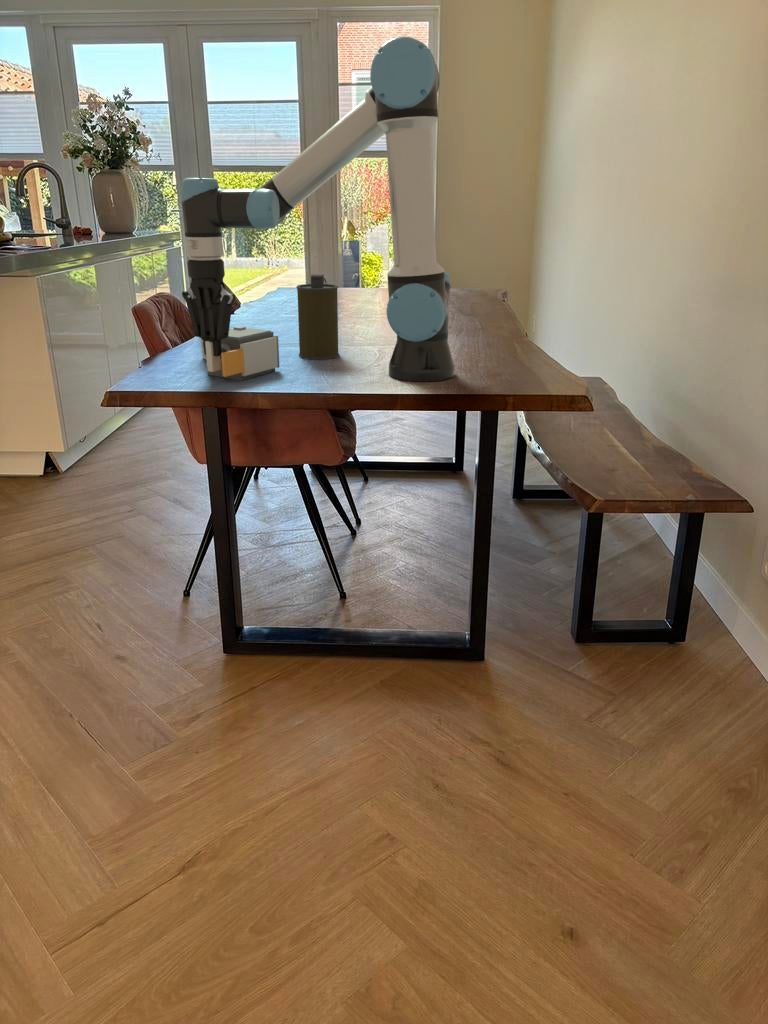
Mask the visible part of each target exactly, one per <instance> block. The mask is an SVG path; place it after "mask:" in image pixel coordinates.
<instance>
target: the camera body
mask: <svg viewBox="0 0 768 1024" xmlns="http://www.w3.org/2000/svg"><path fill="white" fill-rule="evenodd" d="M274 336H275V335H274V331H272V330H269V329H268V330H267V329H260V328H253V327H252V328H251V327H246V326H240V325H238V326H234V327H233V328H229V335H228V338H224V339H222V340H221V349H222V350H221V351H222V353H223V352H228V351H232V350H237V349H240V344H242V343H247V342H251V341H256V340H260V339H265V338H269V337H274ZM206 359H207V357H206ZM220 363H221V370H218V371H214V372H210V371H208V369H207V368H206V369H207V370H206V371H207V375H208V376H214V377H221V378H226V379H230V380H231V379H232V380H239V381H243V380H246V379H250V378H253V377H258V376H262V375H263V374H264V375H265V374H268V373H272V372H275V371H276V368H273V369H269V370H266V371H262V372H258V373H255V374H251V375H247V376H242V373H238V374H234V375H230V376H227V377H224V376H223V371H222V357H221V356H220Z"/></svg>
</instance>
